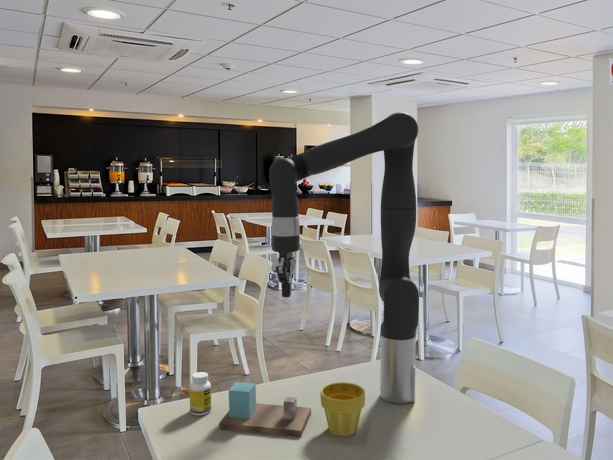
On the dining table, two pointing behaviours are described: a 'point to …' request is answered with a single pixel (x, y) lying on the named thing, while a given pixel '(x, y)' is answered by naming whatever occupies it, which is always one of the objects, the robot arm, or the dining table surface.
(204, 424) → the dining table surface
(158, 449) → the dining table surface
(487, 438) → the dining table surface
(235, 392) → the teal rectangular block
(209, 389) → the supplement bottle
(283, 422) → the post board
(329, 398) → the plant pot
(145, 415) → the dining table surface
